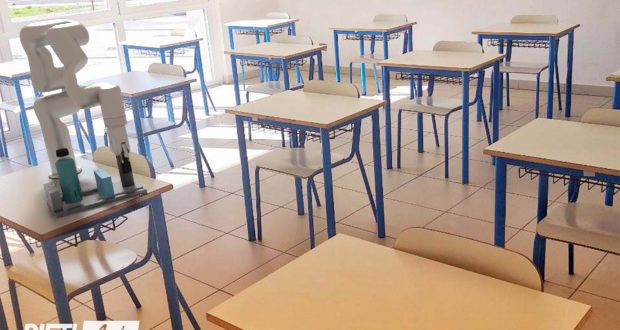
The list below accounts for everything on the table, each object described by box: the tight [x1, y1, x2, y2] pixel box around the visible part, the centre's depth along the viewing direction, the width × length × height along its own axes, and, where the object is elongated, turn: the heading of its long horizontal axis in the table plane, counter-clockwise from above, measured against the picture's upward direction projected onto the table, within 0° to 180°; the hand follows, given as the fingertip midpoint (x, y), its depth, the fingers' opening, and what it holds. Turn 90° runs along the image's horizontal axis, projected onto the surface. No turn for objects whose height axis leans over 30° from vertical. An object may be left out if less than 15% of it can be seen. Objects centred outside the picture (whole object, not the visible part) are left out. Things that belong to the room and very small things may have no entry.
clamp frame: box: [43, 180, 148, 219], centre depth 219 cm, size 17×30×8 cm, turn 122°
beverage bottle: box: [55, 148, 84, 205], centre depth 213 cm, size 6×7×20 cm
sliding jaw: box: [93, 152, 144, 199], centre depth 222 cm, size 12×13×14 cm
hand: (125, 170), depth 223 cm, fingers closed on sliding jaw, 4 cm apart
